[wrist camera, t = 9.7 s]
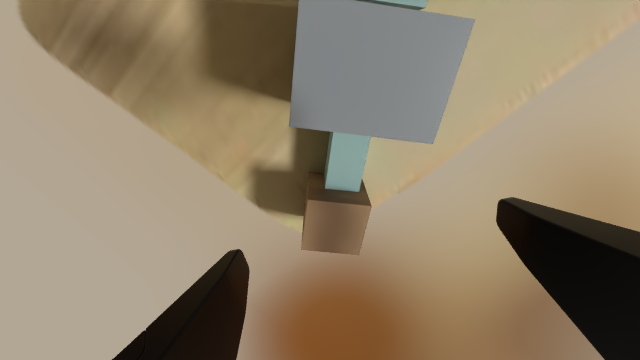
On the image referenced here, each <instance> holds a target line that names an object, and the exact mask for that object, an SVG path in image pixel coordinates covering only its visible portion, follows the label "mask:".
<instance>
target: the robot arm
mask: <svg viewBox="0 0 640 360" xmlns="http://www.w3.org/2000/svg"><path fill="white" fill-rule="evenodd" d="M496 222H497V225H498V227H499V229H500V230H501V231H502V233H503V234H504V236H505V237H506V239H507V240H508V241H509V243H510V245H511V246H512V248H513V249H514V250H515V252H516V253H517V255H518V256H519V258H520V259H521V260H522V262H523V263H524V265H525V266H526V267H527V268H528V270H529V271H530V272H531V273H532V274H533V276H534V277H535V278H536V279H537V280H538V281H539V283H541V285H542V286H543V287H544V289H545V290H546V291H547V292H548V293H549V294H550V296H551V297H552V298H553V299H554V300H555V302H556V303H557V304H558V305H559V306H560V307H561V309H562V310H563V311H564V312H565V313H566V314H567V316H568V317H569V318H570V319H571V320H572V322H573V323H574V324H575V325H576V326H577V327H578V329H579V330H580V331H581V332H582V333H583V335H584V336H585V337H586V338H587V339H588V341H589V342H590V343H591V344H592V345H593V346H594V348H596V350H597V351H598V352H599V353H600V355H601V356H602V357H603V358H604V359H605V360H640V232H638V231H634V230H631V229H627V228H623V227H620V226H616V225H612V224H609V223H605V222H601V221H598V220H594V219H591V218H587V217H583V216H580V215H576V214H572V213H569V212H565V211H561V210H558V209H554V208H550V207H547V206H543V205H540V204H536V203H532V202H529V201H525V200H521V199H518V198H514V197H510V198H505V199H501V200H499V202H498V206H497V217H496ZM248 281H249V266H248V264H247V261H246V259H245V257H244V254H243V252H242V251H241V250H240V249H237V250H232V251H229V252H227V253H226V254H225V255H224V256H223V257H222V258H221V259H220V260H219V261H218V262H217V263H216V264H214V265H213V266H212V267H211V268H210V269H209V270H208V271H207V272H206V273H205V274H204V275H203V276H202V277H201V278H199V279H198V280H197V281H196V282H195V283H194V284H193V285H192V286H191V287H190V288H189V289H188V290H187V291H186V292H185V293H183V294H182V295H181V296H180V297H179V298H178V299H177V300H176V301H175V302H174V303H173V304H172V305H171V306H170V307H169V308H167V309H166V310H165V311H164V312H163V313H162V314H161V315H160V316H159V317H158V318H157V319H156V320H155V321H154V322H152V323H151V324H150V325H149V326H148V327H147V328H146V331H143V332H142V333H141V334H140V335H138V337H136V338H135V339H134V340H133V341H132V342H131V343H130V344H129V345H128V346H127V347H126V348H124V349H123V350H122V351H121V352H120V353H119V354H118V355H117V356H116V357H115V358H114V359H112V360H236V358H237V353H238V348H239V343H240V338H241V334H242V329H243V324H244V318H245V313H246V304H247V293H248Z"/></svg>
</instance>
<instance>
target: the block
mask: <svg viewBox="0 0 640 360" xmlns="http://www.w3.org/2000/svg"><path fill="white" fill-rule="evenodd" d="M370 210H371V203H370V200H369V198H368V195H367V192H366V189H365V186H364V183H363V180H361V185H360V190H359V192H353V191H343V190H333V189H325V180H324V174H320V173H311V172H309V177H308V185H307V193H306V202H305V210H304V219H303V233H302V247H301V250H309V251H320V252H331V253H342V254H354V255H359V253H360V249H361V245H362V242H363V238H364V234H365V229H366V226H367V222H368V218H369V214H370Z"/></svg>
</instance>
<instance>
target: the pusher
mask: <svg viewBox="0 0 640 360" xmlns="http://www.w3.org/2000/svg"><path fill="white" fill-rule="evenodd" d="M355 1H362V2H368V3H374V4H381V5H387V6H393V7H400V8H406V9H412V10H420V9H423V8H426V4H427V0H355ZM370 138H371V137H370V136H362V135H354V134H345V133H337V132H330V136H329V143H328V150H327V157H326V164H325V171H324V180H325V189H333V190H343V191H353V192H359V190H360V185H361V180H362V176H363V171H364V166H365V162H366V157H367V152H368V148H369V143H370Z"/></svg>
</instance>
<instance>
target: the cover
mask: <svg viewBox="0 0 640 360" xmlns="http://www.w3.org/2000/svg"><path fill="white" fill-rule="evenodd" d="M474 21H475V19H469V18H463V17H457V16H450V15H444V14H438V13H431V12H425V11H419V10H412V9H406V8H400V7H393V6H387V5H381V4H374V3H368V2H362V1H355V0H299V5H298V18H297V31H296V43H295V56H294V69H293V82H292V95H291V108H290V120H289V127H296V128H305V129H313V130H321V131H329V132H337V133H345V134H354V135H362V136H370V137H378V138H386V139H394V140H403V141H411V142H419V143H427V144H433V143H434V140H435V137H436V134H437V131H438V128H439V125H440V122H441V119H442V116H443V113H444V110H445V107H446V104H447V101H448V98H449V95H450V92H451V89H452V87H453V84H454V81H455V78H456V75H457V72H458V69H459V66H460V63H461V60H462V57H463V54H464V51H465V48H466V45H467V42H468V39H469V36H470V33H471V30H472V27H473V24H474Z"/></svg>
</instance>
